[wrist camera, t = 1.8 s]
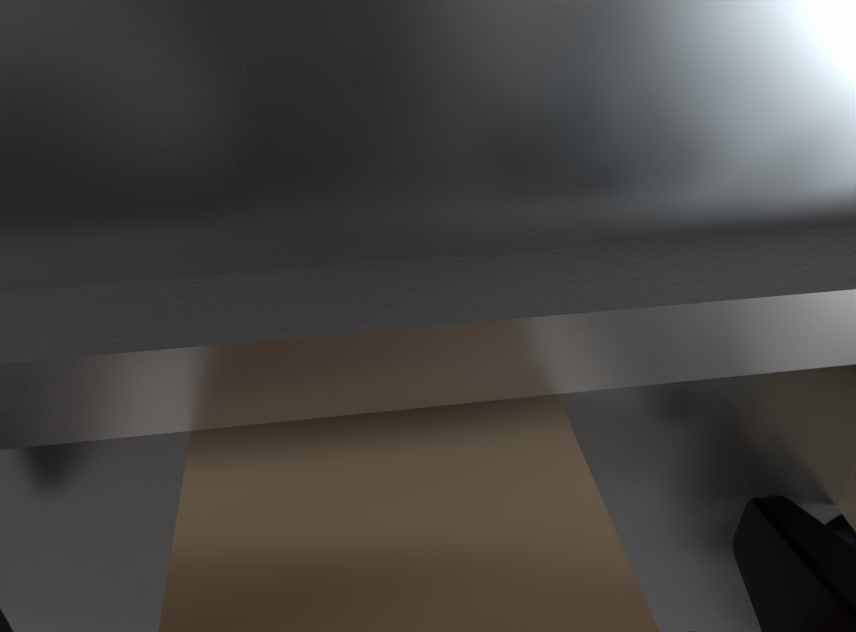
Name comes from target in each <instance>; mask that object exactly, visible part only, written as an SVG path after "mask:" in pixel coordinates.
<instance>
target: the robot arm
mask: <svg viewBox="0 0 856 632" xmlns="http://www.w3.org/2000/svg"><path fill="white" fill-rule="evenodd" d="M732 546H733V553H734V557H735V560H736V563H737V566H738V568H739V571H740V574H741V577H742V579H743V582H744V585H745V588H746V590H747V593H748V596H749V598H750V601H751V604H752V607H753V609H754V612H755V615H756V618H757V620H758V623H759V626H760V628H761V631H762V632H856V546H854V545H853V544H851V543H850V542H849V541H847V540H846V539H844V538H843V537H842V536H840V535H839V534H837V533H836V532H835V531H833V530H832V529H830V528H829V527H828V526H826V525H825V524H823V523H822V522H821V521H819V520H818V519H816V518H815V517H814V516H812V515H811V514H809V513H808V512H807V511H805V510H804V509H802V508H801V507H800V506H798V505H797V504H795V503H794V502H793V501H791V500H790V499H788V498H786V497H784V496H781V495H768V496H760V497H753V498H751V499H749V500H748V501H747V502H746V504H745V506H744V509H743V512H742V514H741V517H740V520H739V523H738V525H737V528H736V531H735V533H734V536H733V543H732ZM0 632H13V630H12V628H11V626H10V624H9V622H8V621H7V619H6V617H5V615H4V614H3V612H2V610H1V608H0Z"/></svg>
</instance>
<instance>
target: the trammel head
mask: <svg viewBox="0 0 856 632" xmlns="http://www.w3.org/2000/svg"><path fill="white" fill-rule="evenodd" d="M159 632H659V630H658V627H657V625H656V623H655V620H654V618H653V616H652V613H651V611H650V609H649V606H648V604H647V602H646V600H645V597H644V595H643V593H642V590H641V588H640V586H639V583H638V581H637V579H636V576H635V574H634V572H633V569H632V567H631V565H630V562H629V560H628V558H627V555H626V553H625V551H624V548H623V546H622V544H621V542H620V539H619V537H618V535H617V532H616V530H615V528H614V525H613V523H612V521H611V518H610V516H609V514H608V511H607V509H606V507H605V504H604V502H603V500H602V497H601V495H600V493H599V490H598V488H597V486H596V484H595V481H594V479H593V477H592V474H591V472H590V470H589V467H588V465H587V463H586V460H585V458H584V456H583V453H582V451H581V449H580V446H579V444H578V442H577V439H576V437H575V435H574V432H573V430H572V428H571V426H570V423H569V421H568V419H567V416H566V414H565V412H564V409H563V407H562V405H561V402H560V400H559V398H558V395H557V394H554V395H544V396H534V397H524V398H514V399H504V400H494V401H484V402H474V403H464V404H454V405H444V406H434V407H424V408H414V409H404V410H394V411H384V412H374V413H364V414H354V415H344V416H334V417H324V418H314V419H304V420H294V421H284V422H274V423H264V424H254V425H244V426H234V427H224V428H214V429H204V430H194V431H190V437H189V443H188V450H187V456H186V462H185V468H184V475H183V481H182V487H181V493H180V500H179V506H178V512H177V519H176V525H175V531H174V537H173V544H172V550H171V556H170V563H169V569H168V575H167V581H166V588H165V594H164V600H163V607H162V613H161V619H160V625H159Z"/></svg>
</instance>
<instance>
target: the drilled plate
mask: <svg viewBox="0 0 856 632" xmlns="http://www.w3.org/2000/svg"><path fill="white" fill-rule="evenodd" d="M554 394H557V395H558V398H559V400H560V402H561V405H562V407H563V409H564V412H565V414H566V416H567V419H568V421H569V423H570V426H571V428H572V430H573V432H574V435H575V437H576V439H577V442H578V444H579V446H580V449H581V451H582V453H583V456H584V458H585V460H586V463H587V465H588V467H589V470H590V472H591V474H592V477H593V479H594V481H595V484H596V486H597V488H598V490H599V493H600V495H601V497H602V500H603V502H604V504H605V507H606V509H607V511H608V514H609V516H610V518H611V521H612V523H613V525H614V528H615V530H616V532H617V535H618V537H619V539H620V542H621V544H622V546H623V548H624V551H625V553H626V555H627V558H628V560H629V562H630V565H631V567H632V569H633V572H634V574H635V576H636V579H637V581H638V583H639V586H640V588H641V590H642V593H643V595H644V597H645V600H646V602H647V604H648V606H649V609H650V611H651V613H652V616H653V618H654V620H655V623H656V625H657V627H658V630H659V632H762V631H761V628H760V626H759V623H758V620H757V618H756V615H755V612H754V609H753V607H752V604H751V601H750V598H749V596H748V593H747V590H746V588H745V585H744V582H743V579H742V577H741V574H740V571H739V568H738V566H737V563H736V560H735V557H734V553H733V546H732V543H733V536H734V533H735V531H736V528H737V525H738V523H739V520H740V517H741V514H742V512H743V509H744V506H745V504H746V502H747V501H748V500H749V499H751V498H753V497H760V496H768V495H781V496H784V497H786V498H788V499H790V500H791V501H793V502H794V503H795V504H797V505H798V506H800V507H801V508H802V509H804V510H805V511H807V512H808V513H809V514H811V515H812V516H814V517H815V518H816V519H818V520H819V521H821V522H822V523H823V524H825V525H826V526H828V527H829V528H830V529H832V530H833V531H835V532H836V533H837V534H839V535H840V536H842V537H843V538H844V539H846V540H847V541H849V542H850V543H851V544H853V545H854V546H856V0H0V608H1V610H2V612H3V614H4V615H5V617H6V619H7V621H8V622H9V624H10V626H11V628H12V630H13V632H159V625H160V619H161V613H162V607H163V600H164V594H165V588H166V581H167V575H168V569H169V563H170V556H171V550H172V544H173V537H174V531H175V525H176V519H177V512H178V506H179V500H180V493H181V487H182V481H183V475H184V468H185V462H186V456H187V450H188V443H189V437H190V431H194V430H204V429H214V428H224V427H234V426H244V425H254V424H264V423H274V422H284V421H294V420H304V419H314V418H324V417H334V416H344V415H354V414H364V413H374V412H384V411H394V410H404V409H414V408H424V407H434V406H444V405H454V404H464V403H474V402H484V401H494V400H504V399H514V398H524V397H534V396H544V395H554Z"/></svg>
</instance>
